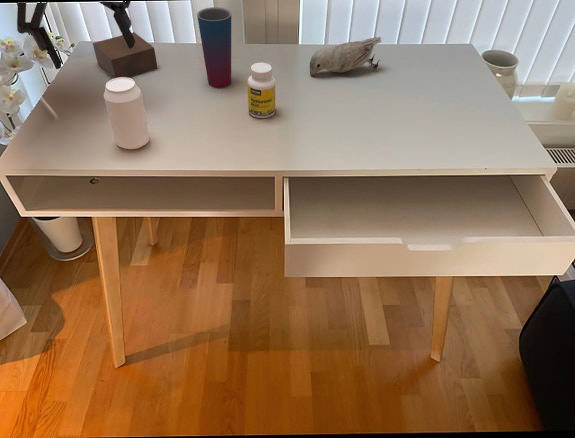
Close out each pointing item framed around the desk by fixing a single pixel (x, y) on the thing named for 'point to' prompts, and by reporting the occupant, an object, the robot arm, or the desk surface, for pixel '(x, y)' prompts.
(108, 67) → the walnut block
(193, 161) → the desk surface
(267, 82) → the supplement bottle
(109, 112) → the beverage can
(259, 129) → the desk surface
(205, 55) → the cup
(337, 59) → the decorative bird
